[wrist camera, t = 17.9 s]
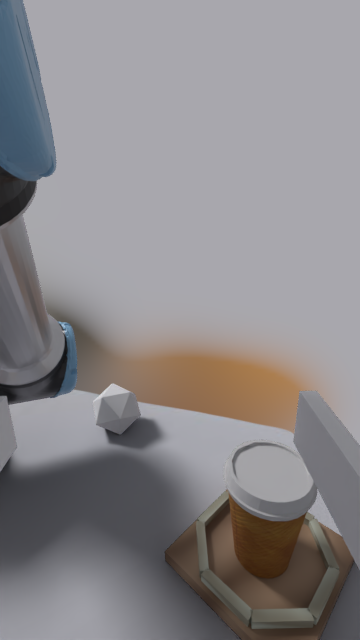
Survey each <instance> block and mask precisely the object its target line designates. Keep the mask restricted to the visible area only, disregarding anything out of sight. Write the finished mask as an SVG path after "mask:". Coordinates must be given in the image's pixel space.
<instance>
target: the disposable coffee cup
mask: <svg viewBox="0 0 360 640" xmlns="http://www.w3.org/2000/svg"><path fill="white" fill-rule="evenodd" d="M223 478H224V482H225V485H226V488H227V489H228V492H229V493H228V494H229V501H230V502H229V503H230V512H231V522H232V530H233V540H234V550H235V554H236V556H237V559H238V560H239V562H240V563H241V565H242V566H243V567H244V568H245V569H246V570H247V571H248V572H250V573H251V574H253V575H255V576H258V577H260V578H267V579H269V578H275V577H278V576H280V575H281V574H283V573H284V572H285V571H286V569H287V568H288V565H289V562H290V559H291V556H292V554H293V551H294V548H295V545H296V542H297V539H298V536H299V533H300V531H301V527H302V525H303V522H304V519H305V516H306V513H307V511H308V510H309V509H310V508H311V506H312V505H313V504H314V502H315V500H316V496H317V487H316V485H315V483H314V481H313V479H312V477H311V475H310V473H309V471H308V469H307V467H306V465H305V463H304V461H303V459H302V457H301V455H300V454H299V453H298V452H296V451H295V450H293V449H292V448H290V447H288V446H286V445H283V444H281V443H278V442H274V441H269V440H253V441H248V442H245V443H242V444H240V445H238V446H237V447H236V448H235V449H234V450H233V451H232V452H231V454H230V456H229V458H228V459H227V461H226V462H225V465H224V469H223Z"/></svg>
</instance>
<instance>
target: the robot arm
mask: <svg viewBox="0 0 360 640" xmlns="http://www.w3.org/2000/svg"><path fill="white" fill-rule="evenodd" d="M55 168H56V154H55V147H54V141H53V135H52V129H51V123H50V118H49V113H48V109H47V106H46V100H45V96H44V91H43V87H42V83H41V77H40V71H39V67H38V62H37V57H36V53H35V49H34V45H33V40H32V36H31V32H30V28H29V24H28V19H27V15H26V12H25V8H24V4H23V0H0V471H1V470H2V469H3V467H4V466H5V464H6V463H7V461H8V460H9V458H10V457H11V455H12V454H13V452H14V451H15V449H16V448H17V443H16V439H15V434H14V429H13V424H12V420H11V415H10V410H9V405H10V404H16V403H21V402H27V401H32V400H38V399H44V398H49V397H50V398H55V397H57V396H59V395H63V394H67V393H69V392H71V391H72V390H73V389H74V388H75V385H76V381H77V369H76V367H77V353H76V343H75V337H74V332H73V329H72V327H71V325H70V324H69V323H62V322H57V321H56V320H55V319H54V318H53V317H52V316H50V315H49V314H47V311H46V307H45V303H44V299H43V295H42V291H41V287H40V283H39V279H38V275H37V271H36V267H35V263H34V259H33V255H32V251H31V247H30V243H29V239H28V234H27V231H26V226H25V223H24V218H23V213H24V212H25V211H26V210H27V208H28V207H29V206H30V204H31V202H32V200H33V198H34V196H35V193H36V188H37V180H38V179H40V178H42V177H47V176H50V175H52V173H53V172H54V171H55ZM293 442H294V444H295V446H296V448H297V450H298V452H299V454H300V455H301V457H302V459H303V461H304V463H305V465H306V467H307V469H308V471H309V473H310V475H311V477H312V479H313V481H314V483H315V485H316V487H317V489H318V491H319V493H320V494H321V496H322V498H323V500H324V502H325V504H326V506H327V508H328V510H329V512H330V514H331V516H332V518H333V520H334V522H335V524H336V526H337V528H338V530H339V531H340V533H341V535H342V537H343V539H344V541H345V543H346V545H347V547H348V549H349V551H350V553H351V555H352V557H353V559H354V561H355V563H356V565H357V567H358V569H359V570H360V445H359V444H358V443H357V441H356V440H355V439H354V438H353V436H352V435H351V434H350V433H349V431H348V430H347V429H346V427H345V426H344V425H343V424H342V422H341V421H340V420H339V419H338V417H337V416H336V415H335V413H334V412H333V411H332V410H331V408H330V407H329V406H328V405H327V403H326V402H325V401H324V400H323V398H322V397H321V396H320V394H319V393H318V392H317V391H300V393H299V401H298V409H297V417H296V425H295V433H294V441H293Z"/></svg>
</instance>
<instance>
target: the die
mask: <svg viewBox="0 0 360 640" xmlns="http://www.w3.org/2000/svg"><path fill="white" fill-rule="evenodd" d="M93 409H94V415H95V422H96V425H98V426H100V427H103V428H105V429H108V430H110V431H112V432H115V433H117V434H120V435H121V434H122V433H123V432H124V431H125V430H126V429H127V428H128V427H129V426H130V425H131V424H132V423H133V422H134V421H135V420H136V419H137V418H138V417H139V416H140V415H141V414H140V410H139V407H138V403H137V400H136V396H135V394H134V393H132V392H130V391H128V390H125V389H124V388H121V387H119V386H117V385H115V384H111V385H110V386H109V387H108V388H107V389H106V390H105V391H104V392H103V393H102V394H100V395H99V396H98V397H97V398H96V399H95V400H94V401H93Z"/></svg>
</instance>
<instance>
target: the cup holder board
mask: <svg viewBox="0 0 360 640" xmlns="http://www.w3.org/2000/svg"><path fill="white" fill-rule="evenodd" d="M228 493H229V492H228V489H227V490H226V491H225V492H224V493H223V494H222V495H221V496H220V497H219V498H218V499H217V500H216V501H215V502H214V503H213V504H212V505H211V506H210V507H209V508H208V509H207V510H206V511H204V512H203V513H202V514H201V515H200V516H199V517H198V518H197V520H196V521H195V522H194V523H193V524H192V525H191V526H190V527H189V528H188V529H187V530H186V531H185V532H184V533H183V534H182V535H181V536H180V537H179V538H178V539H177V540H176V541H175V542H174V543H173V544H172V545H171V546H170V547H169V548H168V549H167V550H166V551H165V560H166V562H167V563H168V564H169V565H170V566H171V567H172V568H173V569H174V570H175V571H176V572H177V573H178V574H179V575H180V576H181V577H182V578H183V579H184V580H185V581H186V582H187V583H188V584H189V585H190V586H191V587H192V589H193V590H194V591H195V592H196V593H197V594H198V595H199V596H200V597H201V598H202V599H203V600H204V601H205V602H206V603H207V604H208V605H209V606H210V607H211V608H212V609H213V610H214V611H215V612H216V613H217V615H218V616H219V617H220V618H221V619H222V620H223V621H224V622H225V623H226V624H227V625H228V626H229V627H230V628H231V629H232V630H233V631H234V632H235V633H236V634H237V635H238V636H239V637H240V638H241V639H242V640H320V637H321V635H322V633H323V630H324V628H325V626H326V624H327V621H328V619H329V617H330V615H331V612H332V610H333V608H334V606H335V603H336V601H337V599H338V597H339V594H340V592H341V590H342V588H343V585H344V583H345V581H346V578H347V576H348V574H349V572H350V569H351V567H352V565H353V563H354V559H353V557H352V555H351V553H350V551H349V549H348V547H347V545H346V543H345V541H344V539H343V537H342V536H340V535H339V534H337V533H335V532H334V531H332V530H331V529H329V528H328V527H326V526H324V525H323V524H321V523H320V522H318V520H317V519H314V516H313V515H312V514H310V513H308V512H307V513H306V516H305V519H304V522H303V525H302V527H301V531H300V533H299V536H298V539H297V542H296V545H295V548H294V551H293V554H292V556H291V559H290V562H289V565H288V568H287V569H286V571H285V572H284V573H283V574H281V575H280V576H278V577H275V578H269V579H267V578H260V577H258V576H255V575H253V574H251V573H250V572H248V571H247V570H246V569H245V568H244V567H243V566H242V565H241V563H240V562H239V560H238V559H237V556H236V554H235V550H234V540H233V530H232V522H231V512H230V503H229V502H230V501H229V494H228Z"/></svg>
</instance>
